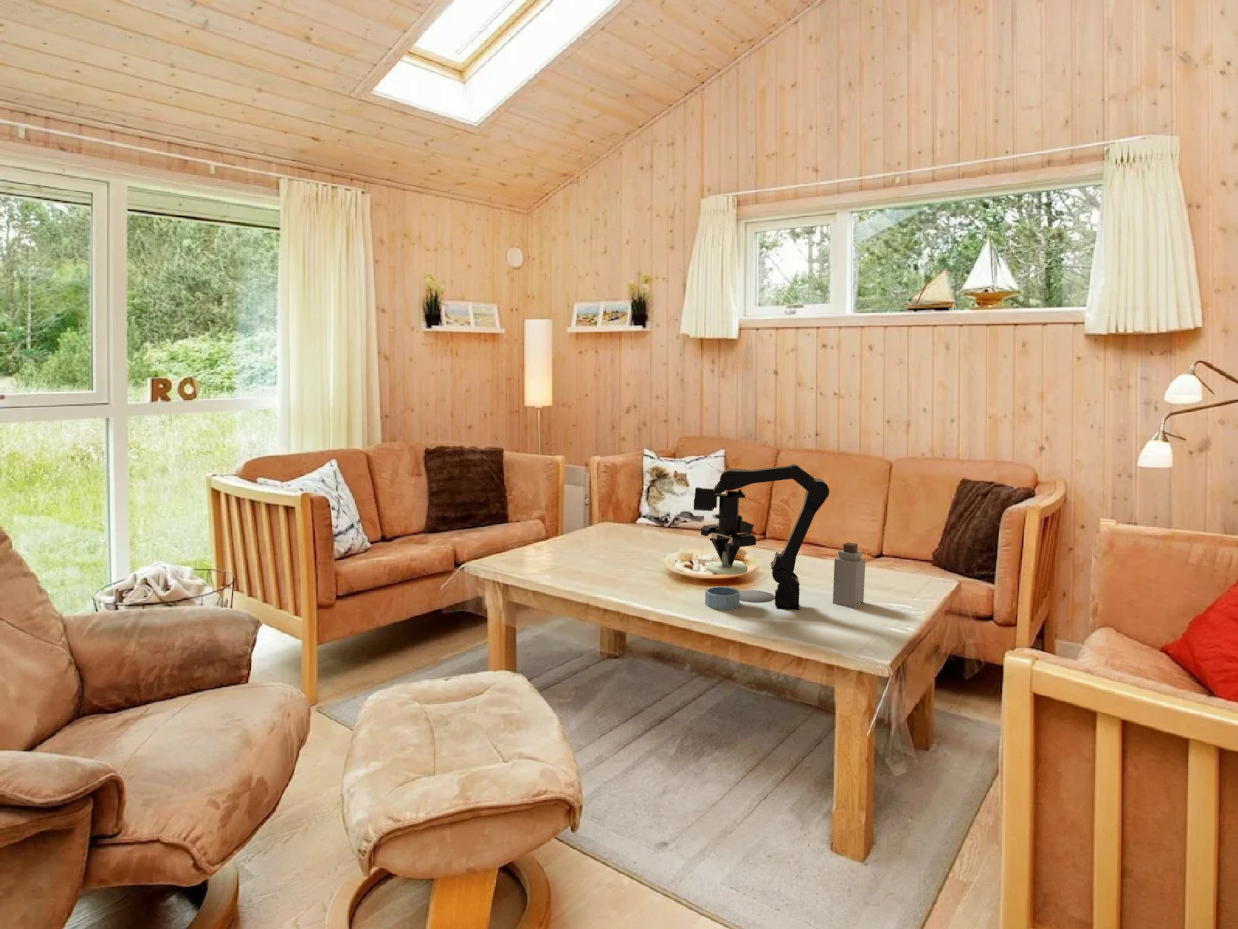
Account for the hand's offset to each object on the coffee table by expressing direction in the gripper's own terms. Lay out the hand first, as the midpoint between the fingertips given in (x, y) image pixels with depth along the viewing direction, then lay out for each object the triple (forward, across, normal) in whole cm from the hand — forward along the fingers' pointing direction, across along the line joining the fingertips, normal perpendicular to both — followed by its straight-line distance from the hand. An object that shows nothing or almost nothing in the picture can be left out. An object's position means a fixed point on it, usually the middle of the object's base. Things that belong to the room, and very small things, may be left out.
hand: (726, 563), depth 228 cm
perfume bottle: (+12, -19, -32) cm, 39 cm away
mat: (+12, 0, -12) cm, 17 cm away
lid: (+2, 0, 0) cm, 2 cm away
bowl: (+12, -1, +2) cm, 13 cm away
